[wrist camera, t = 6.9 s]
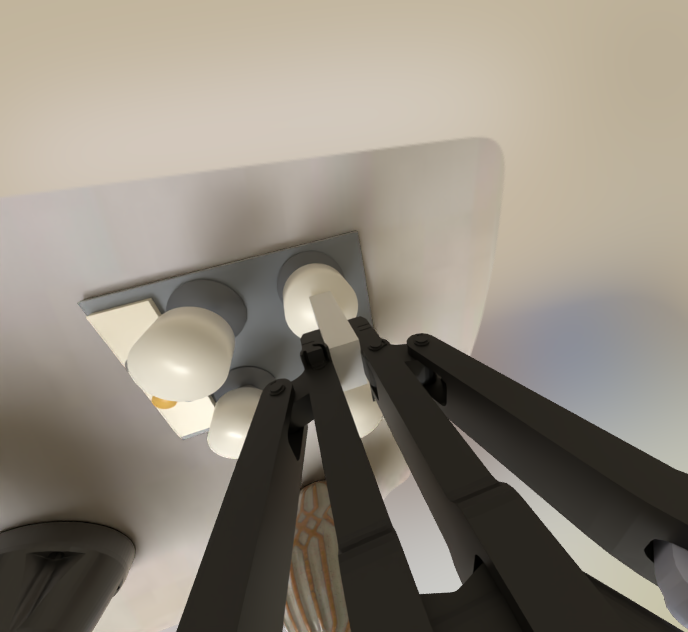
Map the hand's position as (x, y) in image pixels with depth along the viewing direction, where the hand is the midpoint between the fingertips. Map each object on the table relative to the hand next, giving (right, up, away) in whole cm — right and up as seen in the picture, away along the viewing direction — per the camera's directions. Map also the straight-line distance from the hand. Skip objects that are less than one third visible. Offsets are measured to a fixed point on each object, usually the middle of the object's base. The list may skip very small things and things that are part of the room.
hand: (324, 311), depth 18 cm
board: (-7, -3, +7) cm, 10 cm away
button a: (-8, -8, +8) cm, 14 cm away
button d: (-1, +2, +5) cm, 5 cm away
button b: (-9, -1, +2) cm, 10 cm away
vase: (-2, -26, +20) cm, 33 cm away
